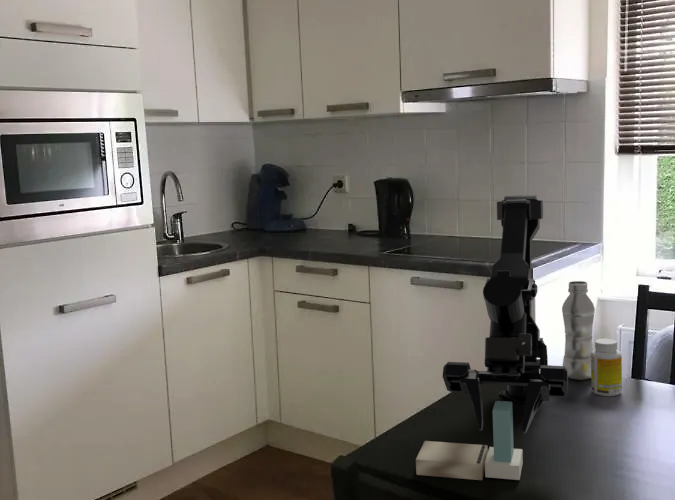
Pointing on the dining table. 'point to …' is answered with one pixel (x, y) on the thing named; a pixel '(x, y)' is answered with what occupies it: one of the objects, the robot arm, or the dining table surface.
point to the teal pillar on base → (503, 446)
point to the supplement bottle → (606, 368)
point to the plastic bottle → (578, 331)
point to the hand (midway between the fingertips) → (502, 431)
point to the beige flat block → (452, 460)
